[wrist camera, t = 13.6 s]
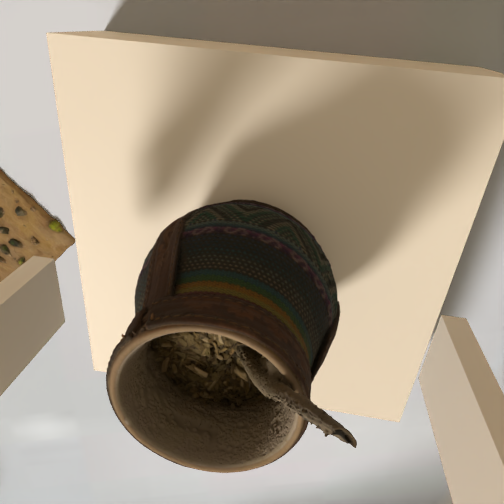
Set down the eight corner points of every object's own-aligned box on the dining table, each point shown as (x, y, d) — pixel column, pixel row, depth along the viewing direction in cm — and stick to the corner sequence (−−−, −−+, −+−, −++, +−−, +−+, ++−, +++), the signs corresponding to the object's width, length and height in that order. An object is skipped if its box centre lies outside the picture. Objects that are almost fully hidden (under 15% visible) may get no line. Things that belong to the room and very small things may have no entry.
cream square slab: (385, 353, 25) (399, 422, 21) (130, 313, 27) (93, 370, 22) (475, 65, 18) (525, 79, 13) (109, 30, 19) (46, 32, 15)
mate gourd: (134, 242, 18) (-40, 432, 10) (268, 134, 15) (192, 269, 7) (239, 352, 20) (174, 593, 12) (377, 275, 17) (429, 524, 8)
